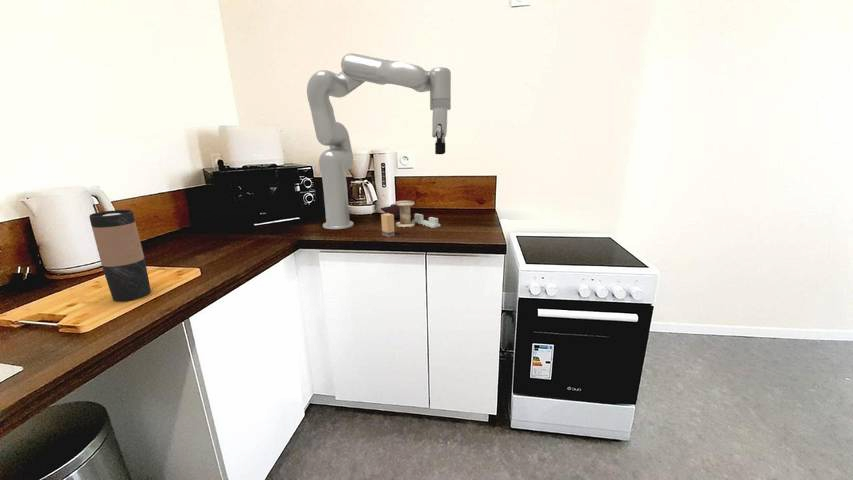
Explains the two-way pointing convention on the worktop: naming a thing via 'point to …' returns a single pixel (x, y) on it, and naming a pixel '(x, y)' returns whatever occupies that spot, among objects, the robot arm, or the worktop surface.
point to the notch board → (431, 223)
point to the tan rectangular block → (387, 224)
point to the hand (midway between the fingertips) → (440, 153)
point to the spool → (405, 214)
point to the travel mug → (121, 254)
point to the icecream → (392, 210)
